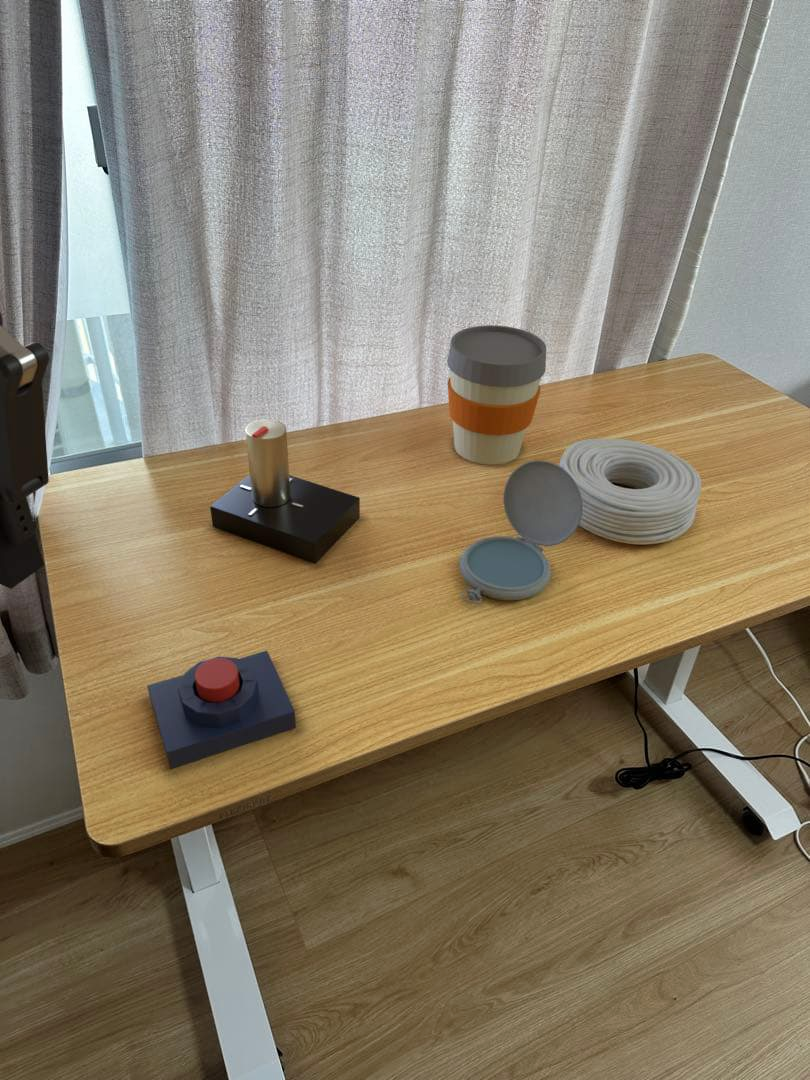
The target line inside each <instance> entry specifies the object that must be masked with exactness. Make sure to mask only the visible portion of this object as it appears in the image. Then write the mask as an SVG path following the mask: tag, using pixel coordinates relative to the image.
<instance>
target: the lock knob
mask: <svg viewBox="0 0 810 1080" xmlns="http://www.w3.org/2000/svg"><path fill="white" fill-rule="evenodd" d="M287 433H288V432H287V426H286V424H284V422H282V421H280V420H277V419H271V418H264V419H258V420H257V419H256V420H254V421H252V422H250V423H249V424H248V425H247V426H246V428H245V438H246V448H247V457H248V460H247V461H248V470H249V475H250V481H251V491H252V499H253V501H254V502H255V503H256V504H258V505H260V506H263V507H277V506H280V505H283V504H285V503H286V502H287V501H288V500H289V499H290V481H289V475H290V465H289V451H288V450H289V449H288V435H287Z"/></svg>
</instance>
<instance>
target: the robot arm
mask: <svg viewBox="0 0 810 1080" xmlns="http://www.w3.org/2000/svg"><path fill="white" fill-rule="evenodd" d="M4 323H5V322H4V315H3V313H2V310H1V309H0V585H1V586H3V587H6V588H8V589H11V590H12V589H14V588H15V587H17V586H18V585H19V584H21V583H22V582H24V581H25V580H26V579H28V578H29V577H30V576H32V575H33V574H35V573H36V572H37V571H39V570H41V568H43V567H45V563H44V559H43V556H42V553H41V549H40V547H39V543H38V539H37V537H36V526H35V522H34V518H33V515H32V512H31V508H30V506H29V502H28V499H27V497H29V496H30V495H32V494H33V493H35V492H37V491H38V490H40V489H41V488H43V487H45V486H46V485H48V484H49V481H50V480H49V478H50V477H49V465H48V452H47V451H48V450H47V435H46V423H45V408H44V407H45V406H44V393H43V380H44V377H45V373H46V370H47V368H48V365H49V361H50V356H49V353H48V351H47V349H46V348H45V346H43V345H42V344H41V343H39V342H37V341H33V342H31V343H29V344H26V345H25V346H24V345H22V344H21V343H20V342H19V340H17V339H16V338H15V337H14V336H13V335H11V333H10V332H8V331H7V330H6V329H5V328H4Z"/></svg>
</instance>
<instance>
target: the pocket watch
mask: <svg viewBox="0 0 810 1080" xmlns="http://www.w3.org/2000/svg"><path fill="white" fill-rule="evenodd" d="M502 499H503V508H504V512H505V516H506V518H507V520H508V522H509V524H510V526H511V527H512V528H513V530H514V531H515V532H516V533H517V534H518V535H519V536H516V537H511V536H501V535H500V536H489V537H485V538H481V539H479V540H476V541H474V542H472V543H471V544H470V545H469V546H467V548H466V549H465V550H464V551H463V552H462V554H461V556H460V559H459V563H458V567H459V572H460V574H461V576H462V579H463V580H464V582H465V583H466V585H468V586H469V587H470V588H471V589H469V590H468V589H467V590H463V591H461V593H460V595H461V598H462V599H463V600H464V601H466V602H469V603H471V604H480V603H481V602H482V601H483V599H482V595H483V596H485V597H489V598H492V599H496V600H503V601H519V600H526V599H528V598H532V597H534V596H537V595H538V594H540V593H541V592H542V591H543V590H544V589H545V588H547V585H548V584H549V582H550V580H551V577H552V568H551V564H550V562H549V560H548V558H547V557H546V555H545V554H544V553H543V552H544V548H542V547H541V546H543V547H553V546H558V545H560V544H562V543H564V542H566V541H567V540H568V539H570V538H571V537H572V536H573V535H574V534H575V532H576V531H577V529H578V527H579V523H580V520H581V516H582V509H583V505H582V497H581V493H580V490H579V488H578V486H577V484H576V482H575V481H574V479H573V478H572V477H571V475H570V474H569V473H568V472H567V471H565V470H564V469H563V468H561V467H560V466H559V464H556V463H554V462H552V461H548V460H542V459H541V460H539V459H538V460H537V459H536V460H529V461H526V462H524V463H522V464H521V465H519V466H518V467H516V468H515V469H514V470H513V471H512V472H511V474H510V475H509V476H508V479H507V480H506V483H505V485H504V489H503V498H502ZM464 593H467V594H468V597H467V598H466V597H465V596H464ZM475 600H479V601H475Z"/></svg>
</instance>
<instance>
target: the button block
mask: <svg viewBox="0 0 810 1080" xmlns="http://www.w3.org/2000/svg"><path fill="white" fill-rule="evenodd" d="M215 658H223V659H228V660H230V661H232V662H233V663H234V664H235V665H236V666H237V669H238V676H239V683H240V685H239V689H238V691H237V693H236V694H235V695H234V696H233V697H232V698H230V699H228V700H226V701H223V702H219V703H212V702H207V701H205V700H203V699H202V698H201V697H200V696H199V695H198V692H197V687H196V682H195V672H196V670H197V668H198V667H199V666H200V665H201V664H203V663H204V662H206V661H208V660H211V659H215ZM146 686H147V691H148V696H149V700H150V703H151V704H150V705H151V708H152V711H153V715H154V718H155V721H156V725H157V728H158V731H159V735H160V738H161V742H162V746H163V749H164V753H165V756H166V759H167V763H168V767H169V769H170V770H173V769H176V768H180V767H182V766H185V765H189V764H191V763H193V762H197V761H201V760H204V759H206V758H209V757H212V756H215V755H218V754H221V753H224V752H227V751H230V750H234V749H235V748H239V747H242V746H245V745H248V744H252V743H254V742H257V741H260V740H263V739H266V738H270V737H273V736H275V735H278V734H281V733H284V732H288V731H291V730H294V729H296V728H297V720H296V719H297V718H296V710H295V708H294V706H293V704H292V701H291V699H290V697H289V695H288V693H287V691H286V689H285V686H284V685H283V682H282V680H281V678H280V676H279V674H278V671H277V669H276V667H275V665H274V662H273V660H272V658H271V656H270V654H269V652H268V650H264V651H261V652H257V653H254V654H250V655H247V656H243V657H240V658H238V657H229V656H221V655H220V656H219V655H218V656H215V657H212V658H208V659H205V660H201V661H198V662H197V663H196V664H194V665H193V666H192V667H191V668H189V669H188V670H186V672H184V674H181V675H179V676H175V677H171V678H168V679H165V680H161V681H158V682H154V683H151V684H147V685H146Z"/></svg>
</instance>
